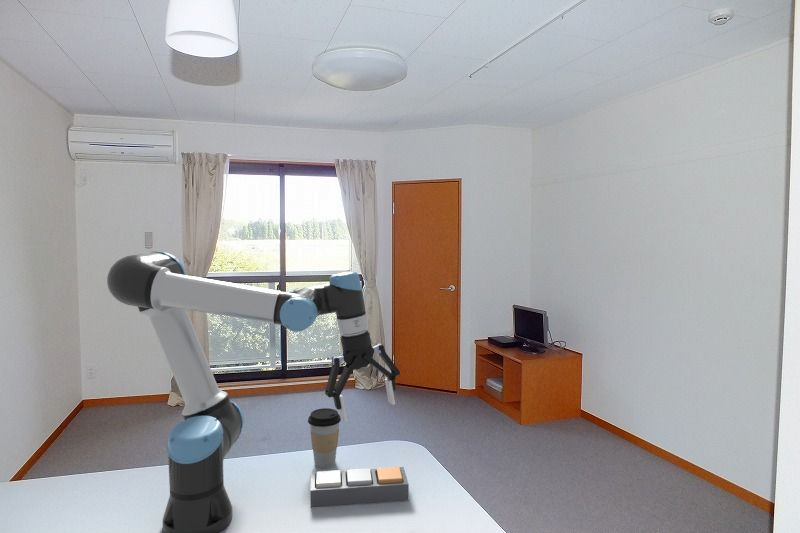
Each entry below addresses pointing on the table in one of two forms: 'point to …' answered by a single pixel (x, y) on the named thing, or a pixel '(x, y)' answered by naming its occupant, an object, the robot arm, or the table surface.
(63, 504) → the table surface
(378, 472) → the key orange
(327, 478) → the key cream
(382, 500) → the keypad
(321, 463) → the coffee cup
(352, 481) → the key grey
